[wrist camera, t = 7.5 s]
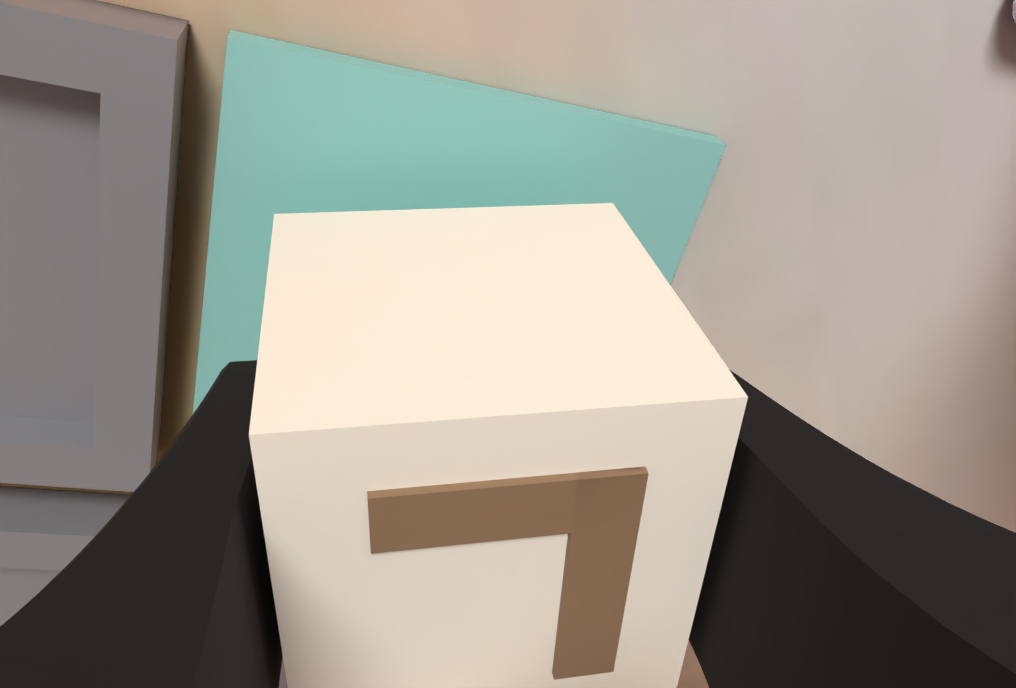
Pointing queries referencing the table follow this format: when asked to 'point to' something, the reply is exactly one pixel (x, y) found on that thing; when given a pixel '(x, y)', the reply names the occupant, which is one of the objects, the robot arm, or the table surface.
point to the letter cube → (484, 450)
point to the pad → (413, 165)
